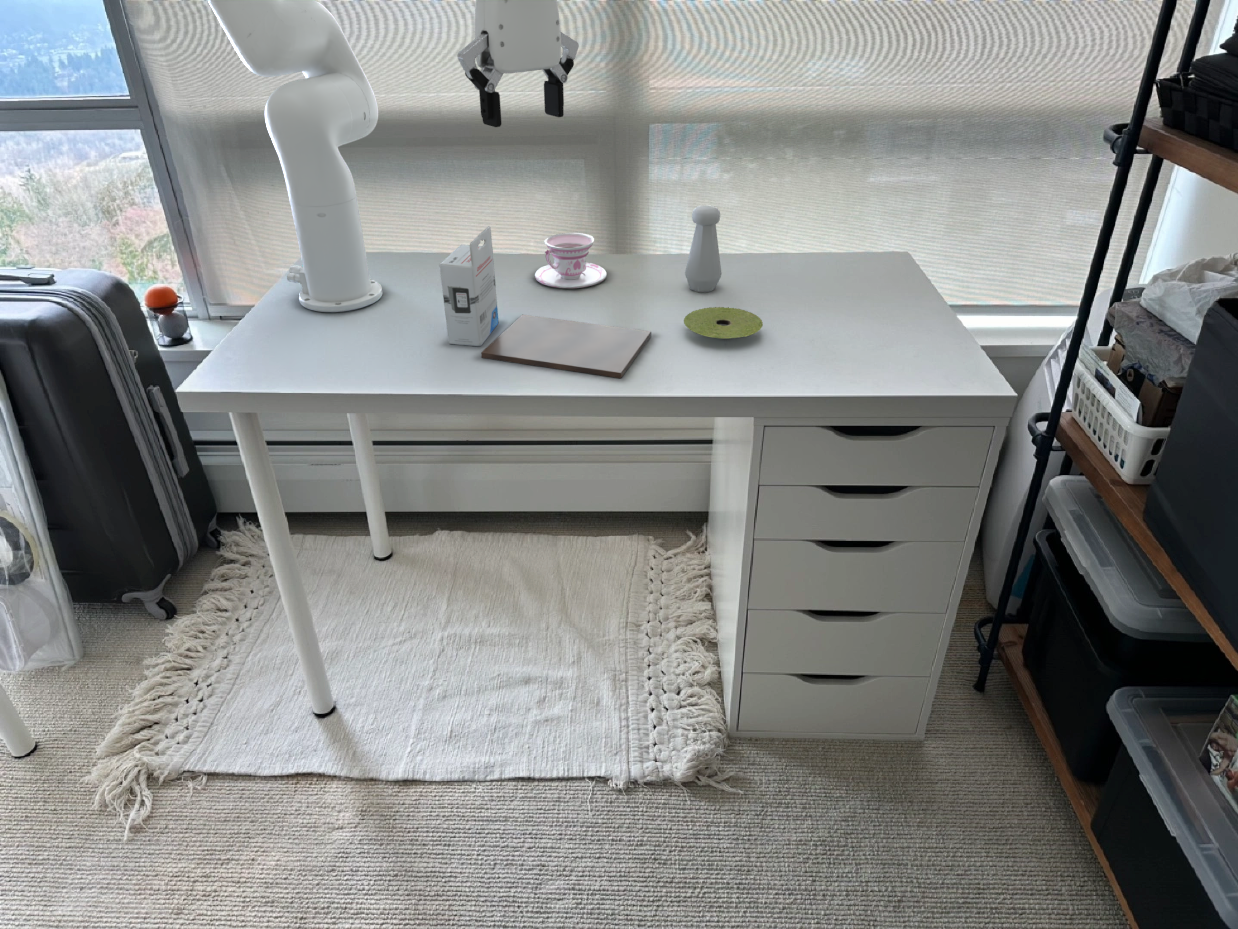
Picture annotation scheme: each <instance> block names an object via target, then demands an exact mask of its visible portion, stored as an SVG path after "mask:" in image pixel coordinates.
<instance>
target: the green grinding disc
mask: <svg viewBox="0 0 1238 929" xmlns="http://www.w3.org/2000/svg"><path fill="white" fill-rule="evenodd" d="M683 324H684V325H685V327H686V328H687V329H688V330H689V331H691V332H693V333H695V334H697V335H700V336H703V337H707V338H712V339H713V338H715V339H729V340H730V339H737V338H743V337H748V336H749V337H750V336H751V335H754V334H756V333H758V332H759V331H761V329H762V328H763V327H764V326H763V325H764V323H763V320H762V319H761V317H759V316H758V314H755V313H752V312H751V311H748V310H745V309H742V308H737V307H729V306H727V307H724V306H713V307H712V306H710V307H704V308H699V309H694V310H693V311H691V312H689V313H687V314H686V315H685V317H684V318H683Z"/></svg>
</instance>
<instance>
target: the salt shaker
mask: <svg viewBox="0 0 1238 929" xmlns="http://www.w3.org/2000/svg"><path fill="white" fill-rule="evenodd" d="M691 220H692V222H693V223H694V224H695V227H694V233H693V236H692V241H691V245H690V250H689V253H688V258H687V262H686V265H685V270H684V276H685V278H686V281H687V284H688V287H689V289H690V290H692V291H694V292H698V293H710V292H712V291H714V289H716V287H717V286H718V284H719V281H720V279H721V278H722V273H723V272H722V264H721V258H720V248H719V241H718V240H719V239H718V232H717V224H718V223H719V222H720V220H721V211H720V209H719V208H718V207H717V206H714V205H709V204H703V205H702V204H700V205H698V206H695V208H694V209H693V210H692V212H691Z"/></svg>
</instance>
